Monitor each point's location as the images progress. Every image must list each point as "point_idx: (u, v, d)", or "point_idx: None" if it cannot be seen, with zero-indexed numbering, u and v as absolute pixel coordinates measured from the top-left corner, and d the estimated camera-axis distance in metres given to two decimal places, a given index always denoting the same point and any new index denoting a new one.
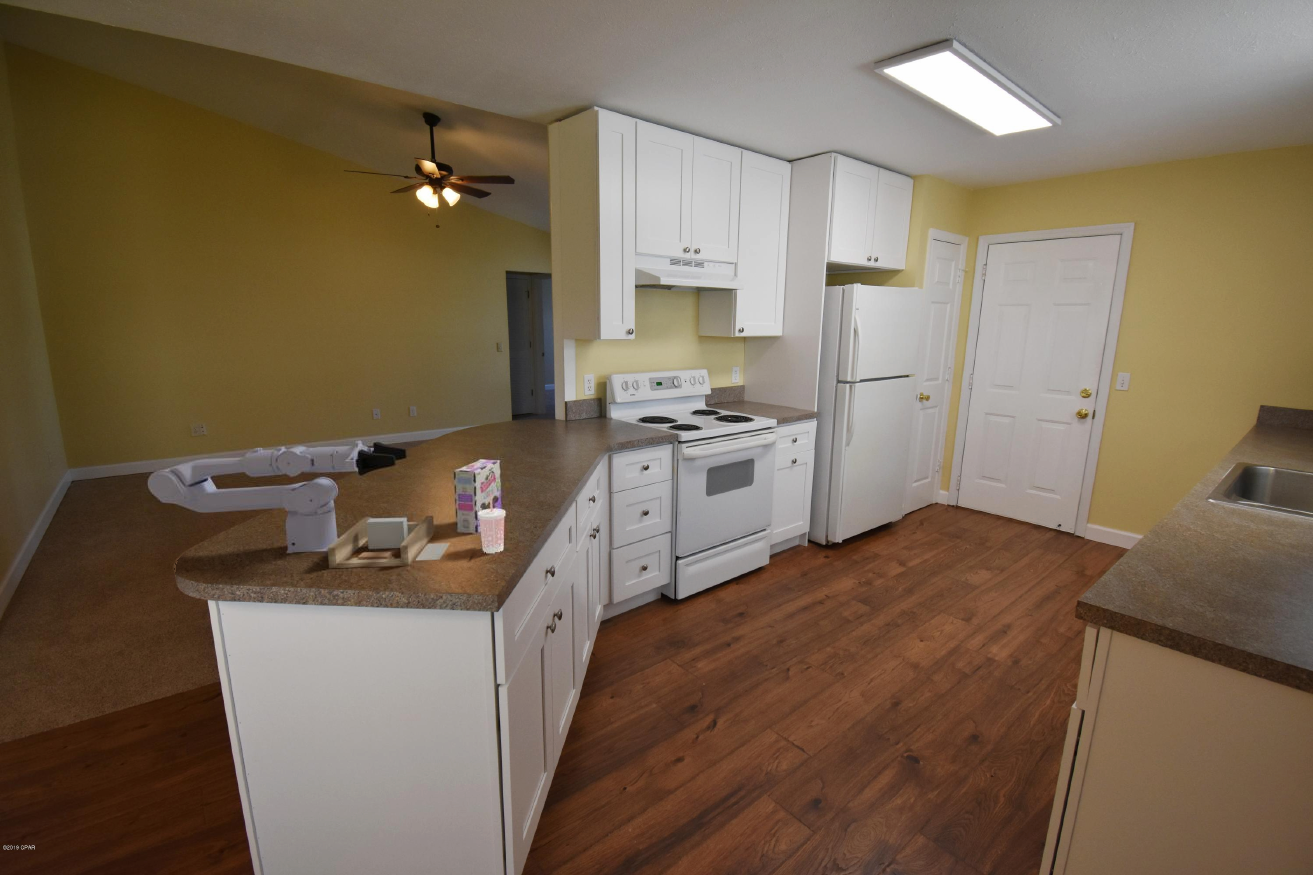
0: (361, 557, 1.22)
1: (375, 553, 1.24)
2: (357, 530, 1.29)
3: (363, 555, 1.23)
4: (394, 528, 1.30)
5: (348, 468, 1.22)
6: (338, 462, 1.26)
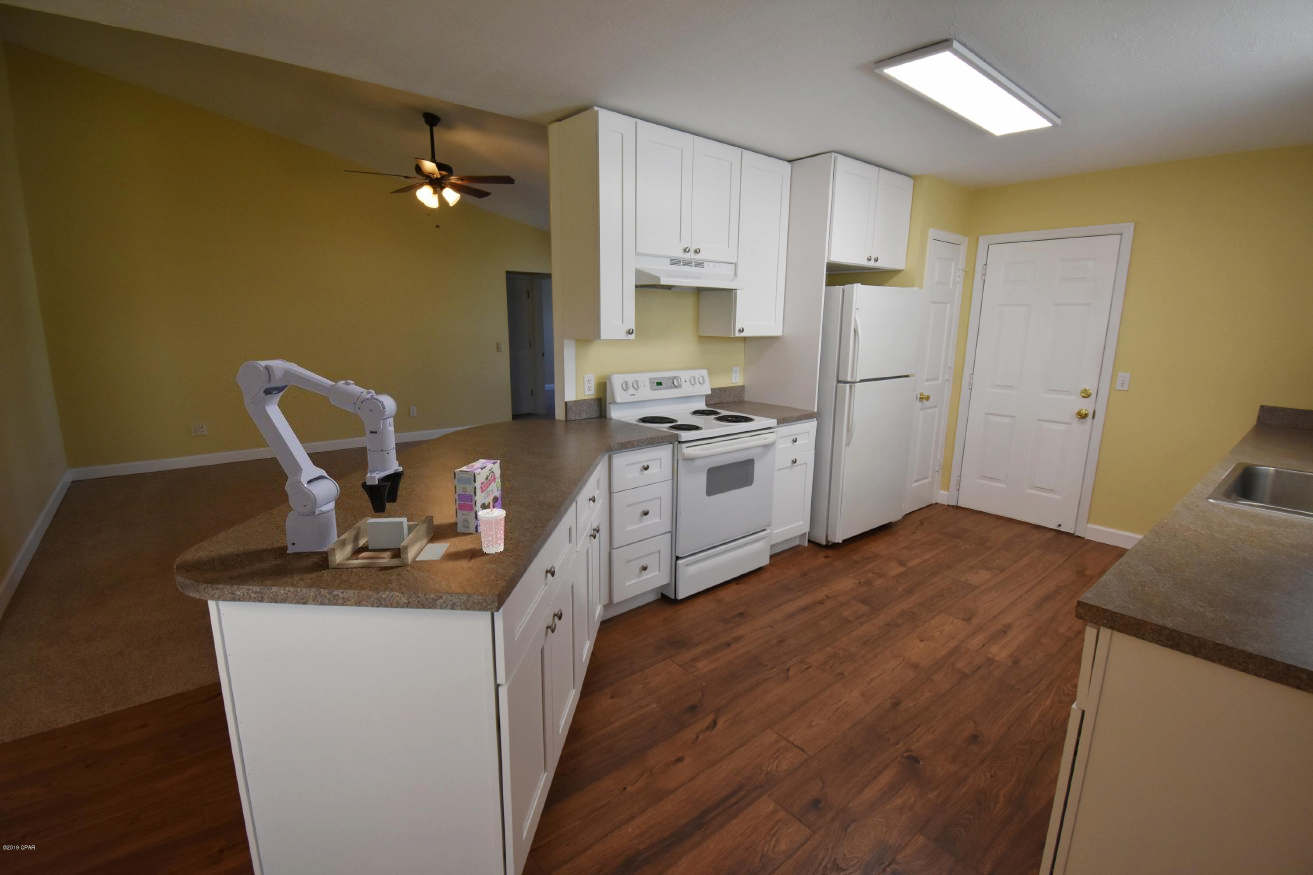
0: (361, 557, 1.22)
1: (375, 553, 1.24)
2: (357, 530, 1.29)
3: (362, 555, 1.23)
4: (394, 528, 1.30)
5: (367, 478, 1.21)
6: (376, 456, 1.25)
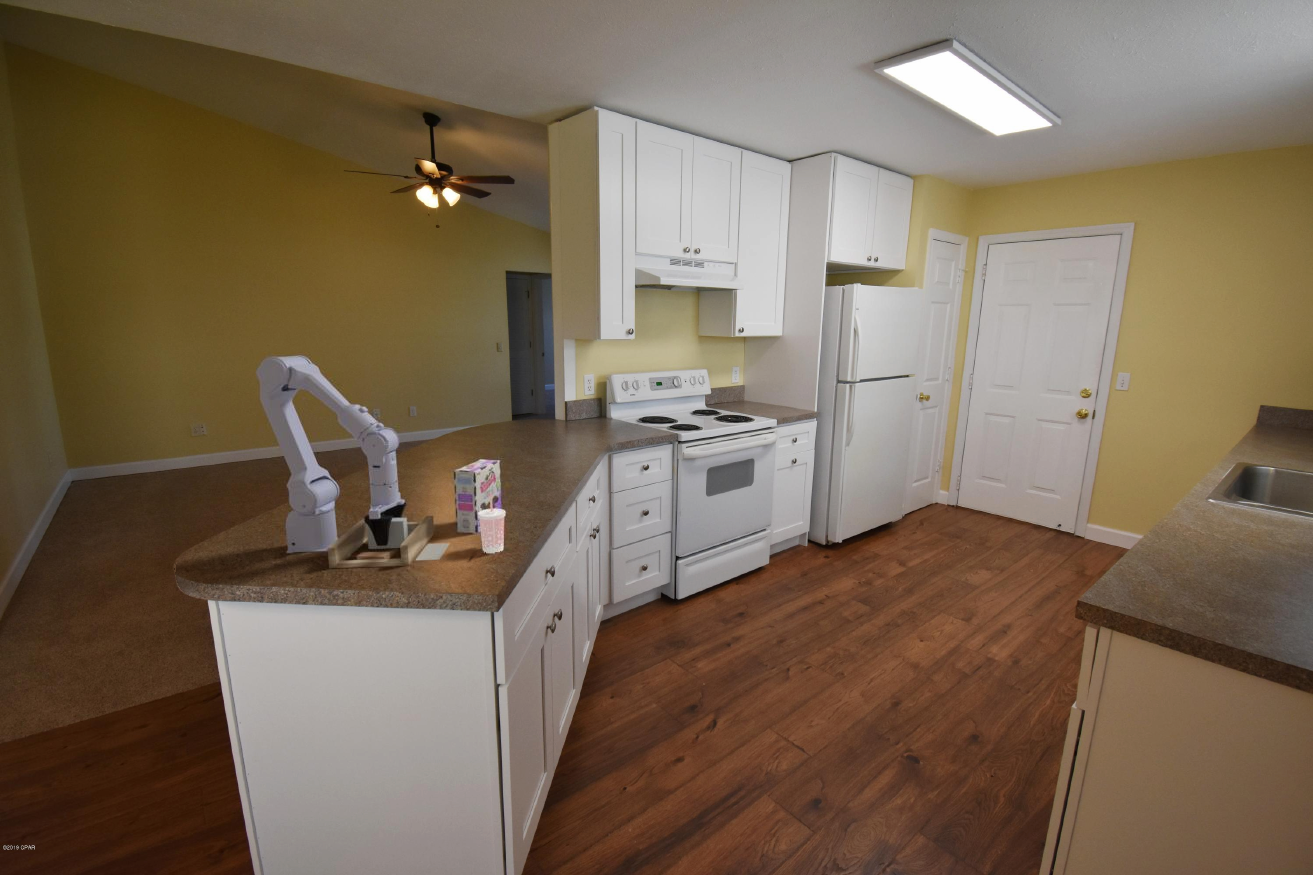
0: (359, 556, 1.22)
1: (374, 553, 1.24)
2: (357, 530, 1.29)
3: (361, 554, 1.23)
4: (394, 528, 1.30)
5: (370, 513, 1.22)
6: (378, 490, 1.26)
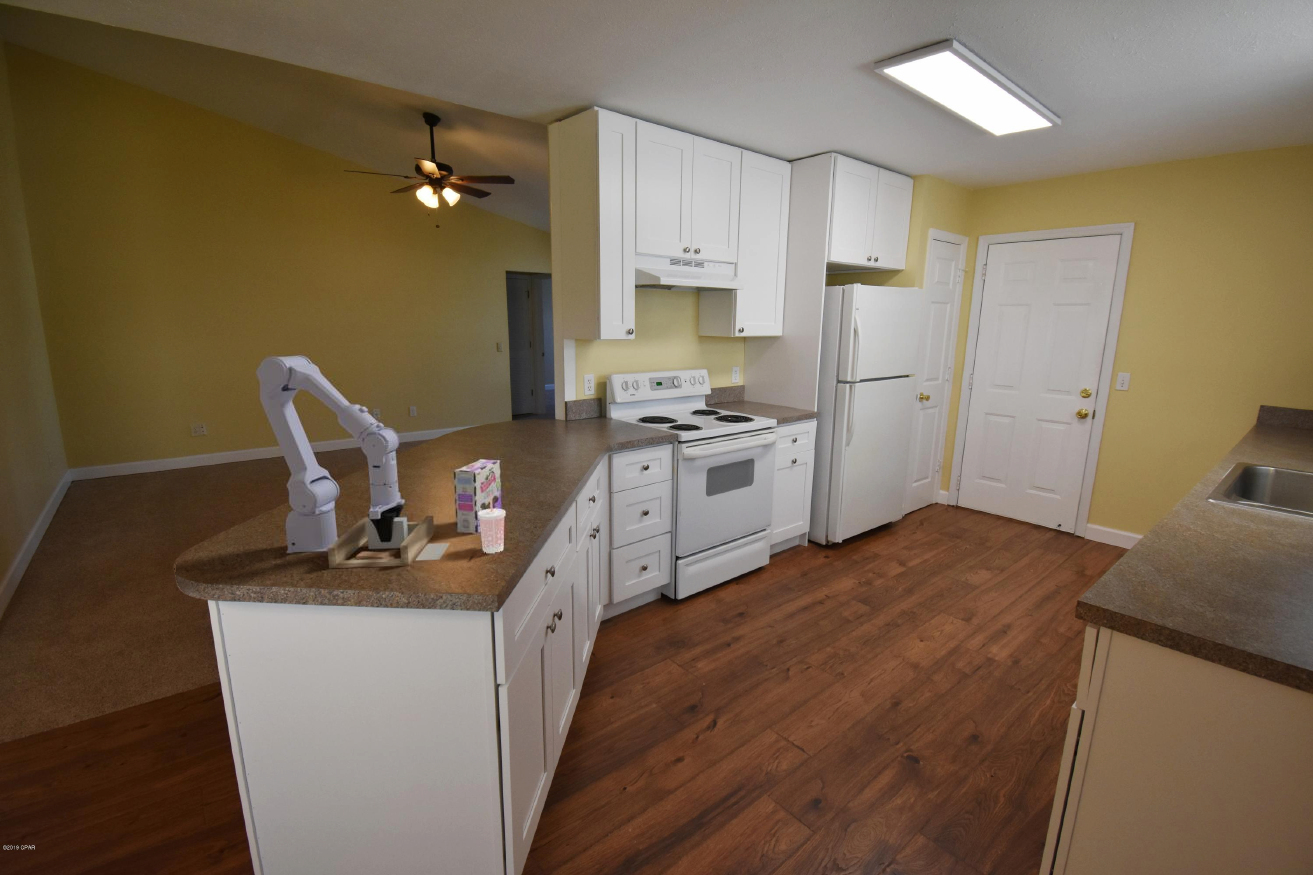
0: (359, 556, 1.22)
1: (373, 553, 1.24)
2: (357, 530, 1.29)
3: (361, 554, 1.23)
4: (394, 528, 1.30)
5: (370, 513, 1.22)
6: (378, 490, 1.26)
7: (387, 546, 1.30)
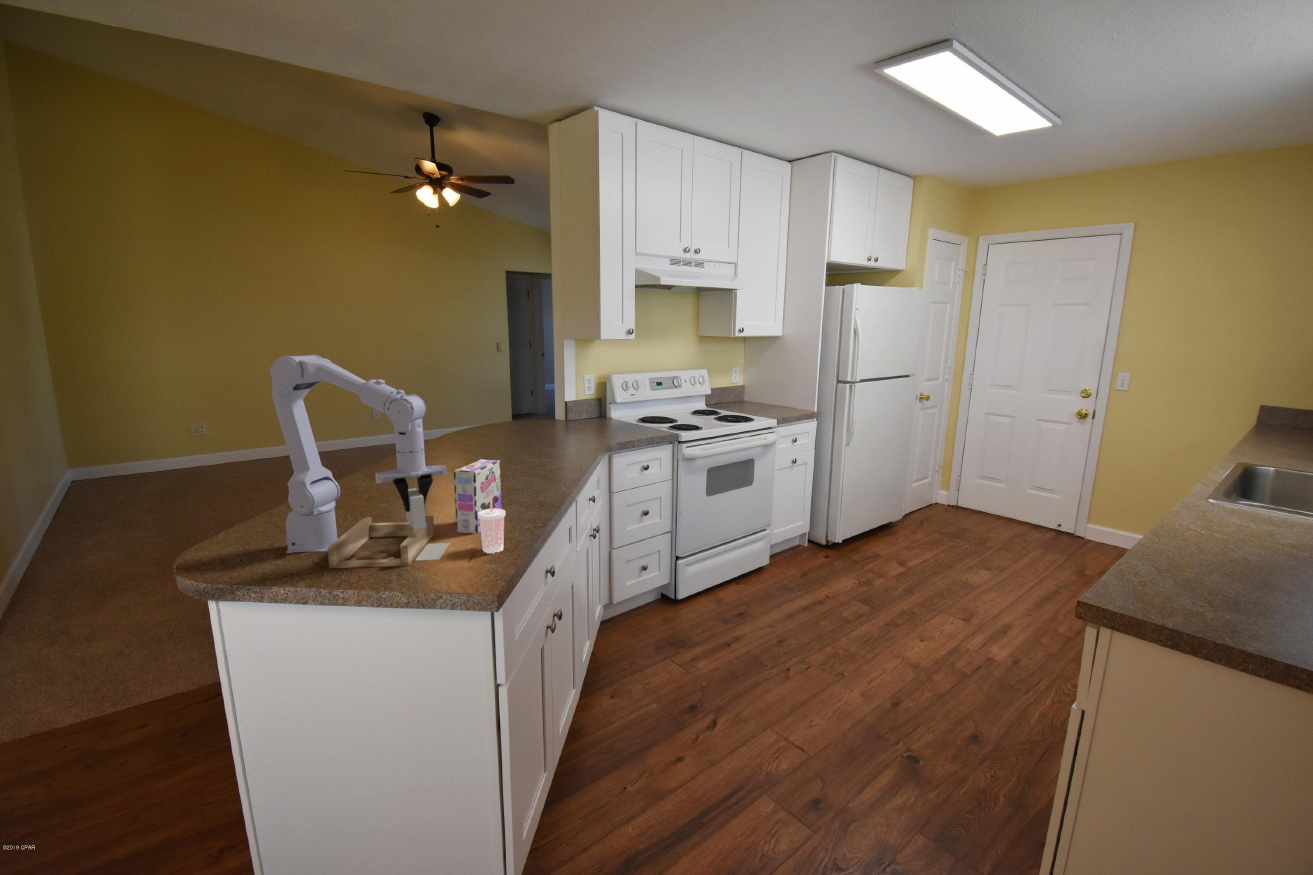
0: (358, 556, 1.23)
1: (372, 553, 1.24)
2: (357, 530, 1.29)
3: (360, 554, 1.23)
4: (410, 503, 1.25)
5: None
6: None
7: (409, 520, 1.27)
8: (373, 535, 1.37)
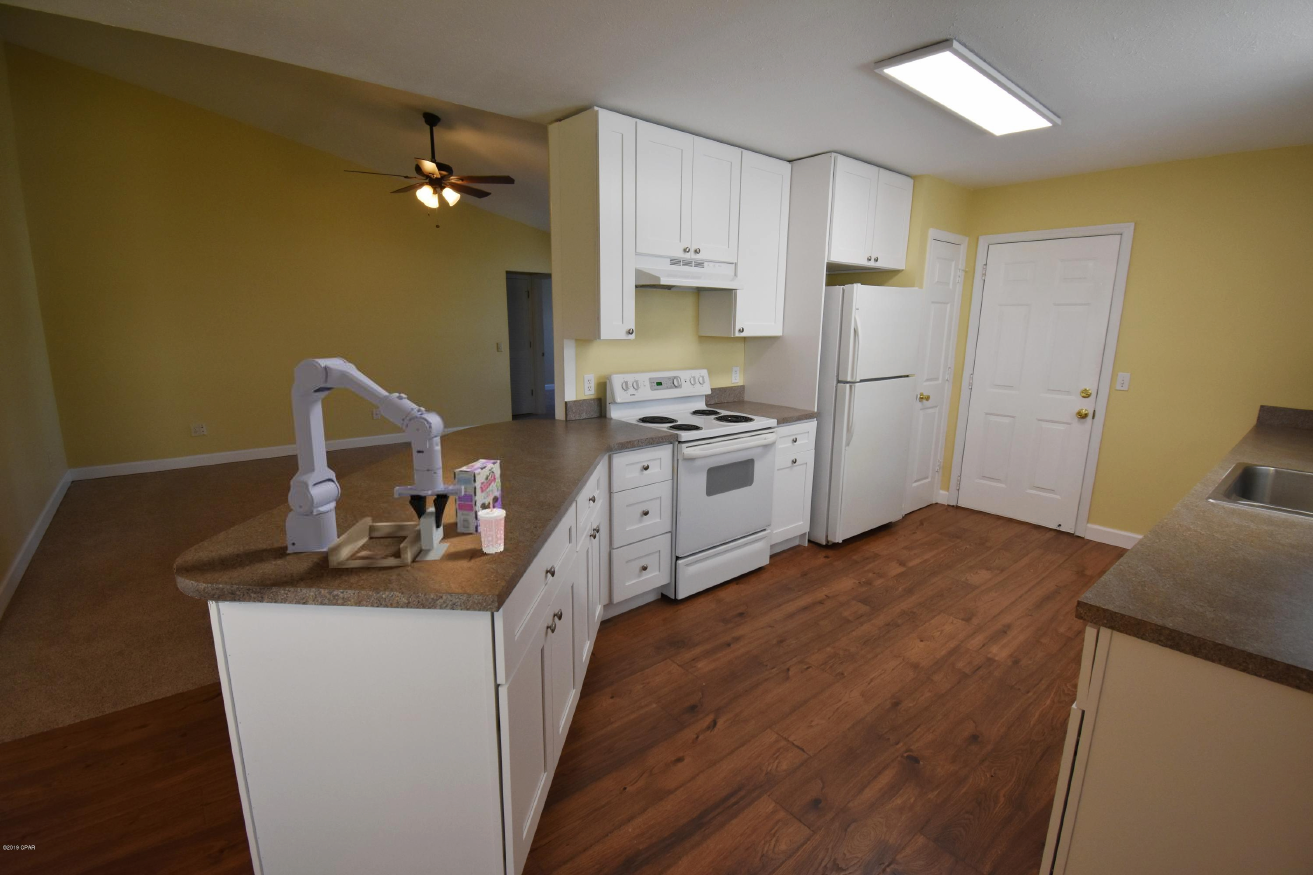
0: (358, 556, 1.23)
1: (372, 553, 1.24)
2: (357, 530, 1.29)
3: (360, 554, 1.23)
4: None
5: None
6: None
7: None
8: (373, 535, 1.37)
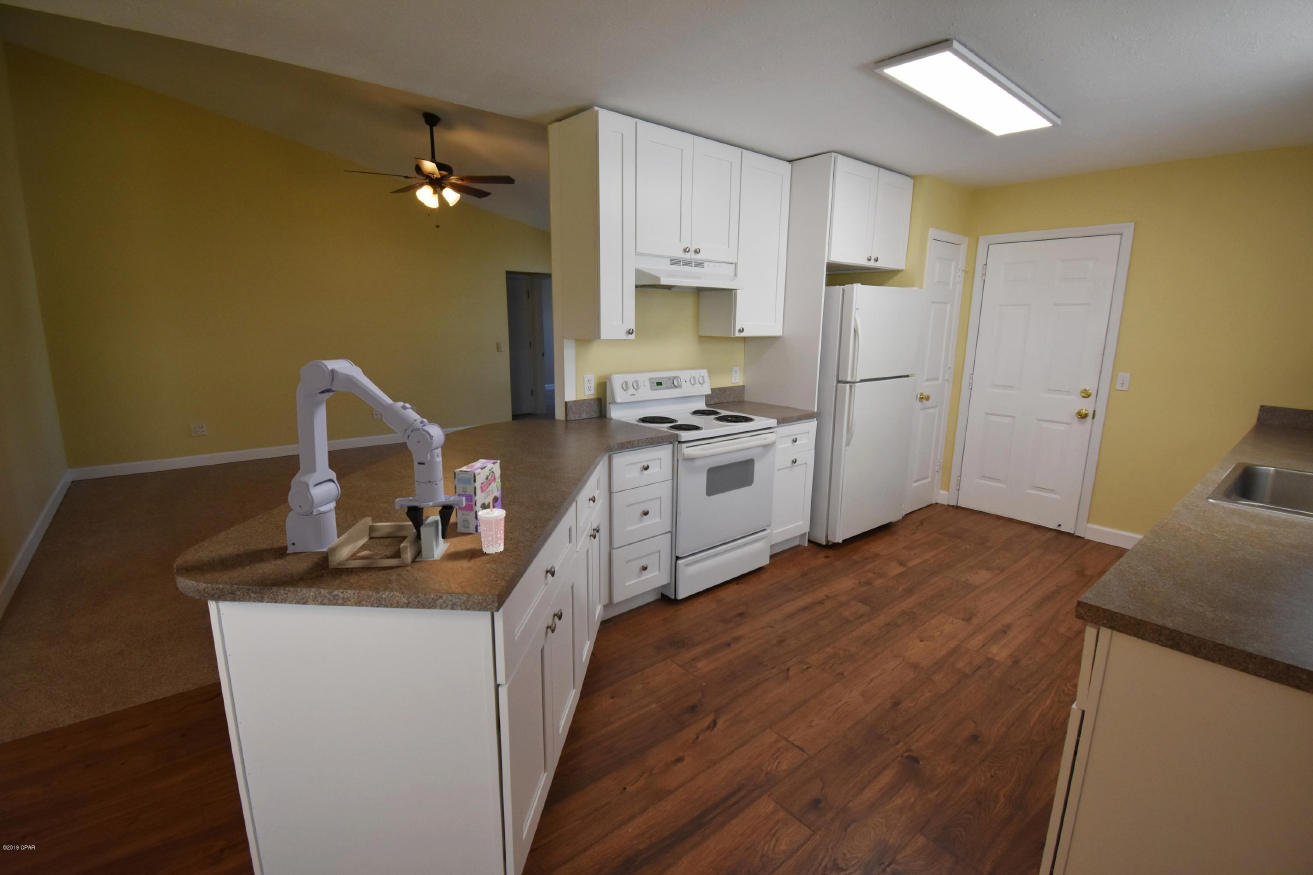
0: (358, 555, 1.23)
1: (372, 553, 1.24)
2: (357, 530, 1.29)
3: (361, 554, 1.24)
4: None
5: None
6: None
7: None
8: (373, 535, 1.37)
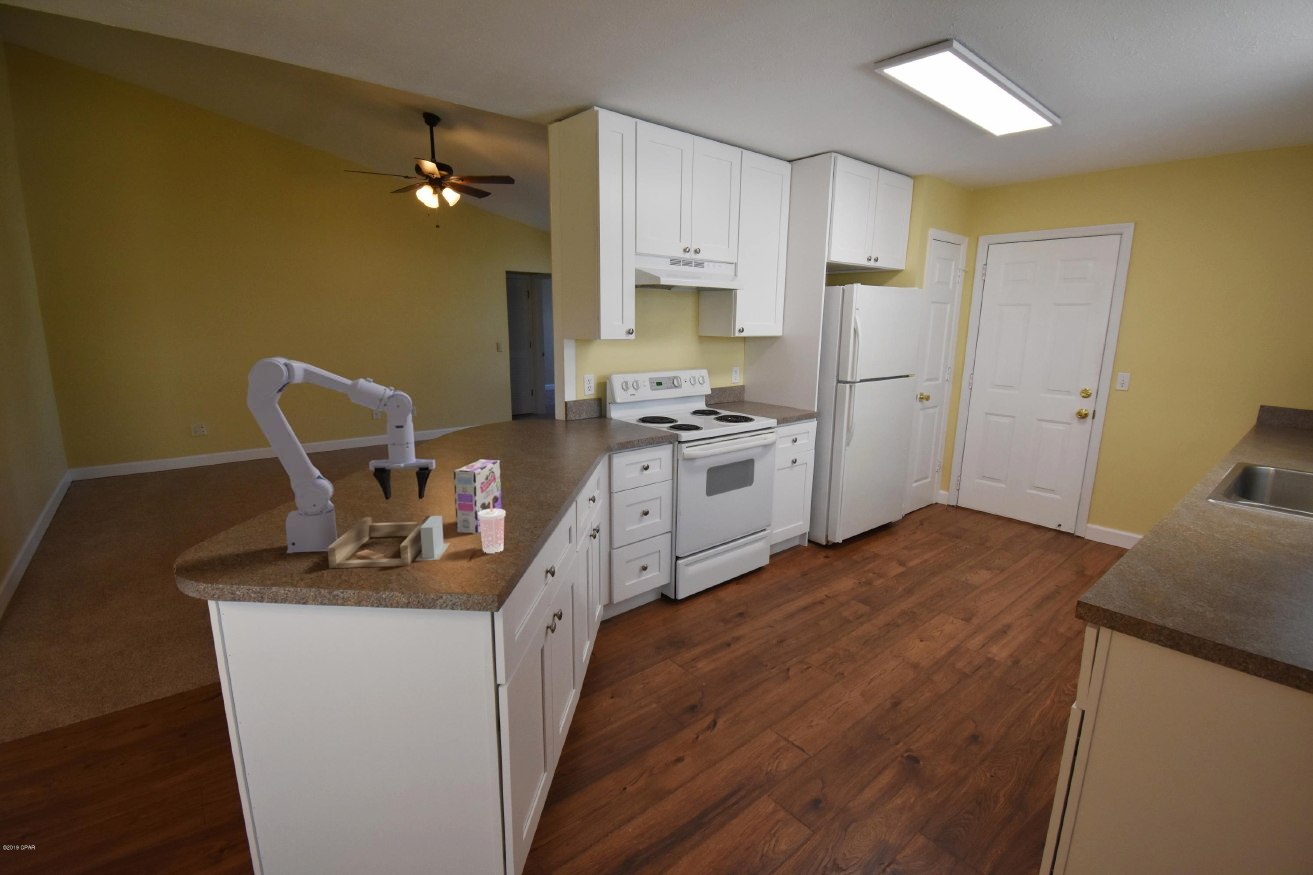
0: (358, 554, 1.24)
1: (371, 553, 1.24)
2: (357, 530, 1.29)
3: (361, 552, 1.24)
4: None
5: None
6: None
7: None
8: (373, 535, 1.37)
